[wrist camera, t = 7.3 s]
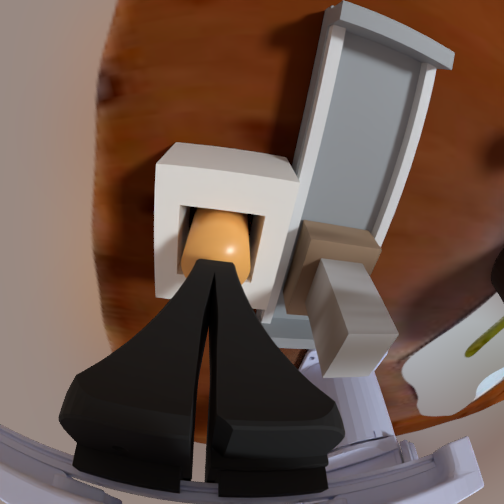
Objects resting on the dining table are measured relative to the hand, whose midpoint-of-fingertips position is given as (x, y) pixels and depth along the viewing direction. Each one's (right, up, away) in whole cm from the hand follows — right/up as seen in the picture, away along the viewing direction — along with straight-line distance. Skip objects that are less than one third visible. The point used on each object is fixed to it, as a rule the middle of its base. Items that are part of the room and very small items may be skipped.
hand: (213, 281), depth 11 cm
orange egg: (0, +3, +4) cm, 5 cm away
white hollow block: (0, +4, +5) cm, 6 cm away
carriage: (+6, +1, +6) cm, 8 cm away
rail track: (+6, +4, +5) cm, 9 cm away
